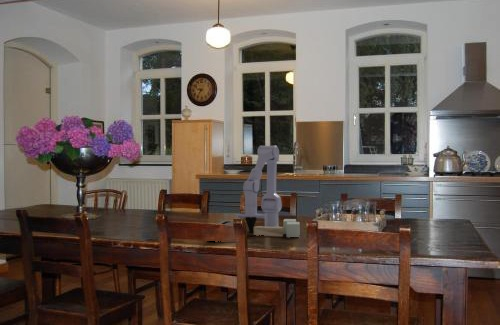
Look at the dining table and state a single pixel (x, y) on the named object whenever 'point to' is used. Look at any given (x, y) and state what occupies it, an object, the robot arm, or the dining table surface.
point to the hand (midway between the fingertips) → (251, 233)
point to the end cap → (293, 229)
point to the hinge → (226, 223)
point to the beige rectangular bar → (268, 231)
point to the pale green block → (286, 224)
